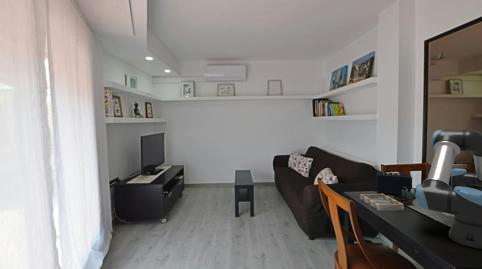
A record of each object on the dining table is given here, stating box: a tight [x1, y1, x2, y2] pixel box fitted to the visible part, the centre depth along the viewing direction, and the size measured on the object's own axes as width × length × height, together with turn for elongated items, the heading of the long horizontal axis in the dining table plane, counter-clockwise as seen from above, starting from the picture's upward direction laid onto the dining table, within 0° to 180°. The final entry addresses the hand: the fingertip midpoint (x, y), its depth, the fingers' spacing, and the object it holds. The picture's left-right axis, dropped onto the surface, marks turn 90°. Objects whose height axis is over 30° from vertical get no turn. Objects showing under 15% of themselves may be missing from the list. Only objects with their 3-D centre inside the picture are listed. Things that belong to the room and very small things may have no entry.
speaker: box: [376, 171, 413, 196], centre depth 184 cm, size 22×13×15 cm, turn 62°
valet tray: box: [359, 193, 405, 212], centre depth 162 cm, size 22×15×4 cm
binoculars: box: [393, 186, 414, 206], centre depth 162 cm, size 9×11×10 cm
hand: (411, 194), depth 162 cm, fingers open, 13 cm apart
